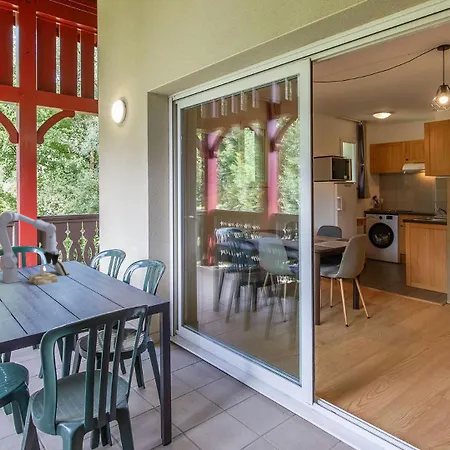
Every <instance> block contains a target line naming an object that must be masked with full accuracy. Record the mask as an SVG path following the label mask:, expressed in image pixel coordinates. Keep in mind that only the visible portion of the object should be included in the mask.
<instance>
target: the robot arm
mask: <svg viewBox="0 0 450 450" xmlns="http://www.w3.org/2000/svg"><path fill="white" fill-rule="evenodd" d="M13 221H21V222H24V223H26V224H30V225H32V227H33V228H34V229H36V230H40V231H42V232H45V233H46V237H45V242H46V243H45V244H46V245H45V247H46V248H44V252H43V255H44V258H45V260H46V264H51V263H52V266H54V265H56V264H57V261H59V257H60V255H61V254H60V253H59V249H57V235H56V231H57V228H56V226H55V224H52V223H50V222H45V221H44V220H42V219H41V218H40V219H33V218H31V217H28V216H26V215H23V214H21V213H18V212H15V211H12V210H7V211H4V212H2V213H1V214H0V245H1V249H2V253H3V266H4V268H3V269H2V279H1V282H3V283H5V284H12V283H18V282H21V281H22V280H20V279H19V273H18V272H19V271H18V266H19V265H17V264H18V261H19V260H18V258H17V256H16V255H15V253H14V250H13V248H12V243H11V241H10V236H9V233H8V229H7V226H9V224H10V223H11V222H13Z"/></svg>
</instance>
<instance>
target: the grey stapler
mask: <svg viewBox="0 0 450 450" xmlns="http://www.w3.org/2000/svg"><path fill="white" fill-rule="evenodd" d="M53 266H54V269H55V271H56V273H58V274H59V275H61V276H62V277H64V276H66V275H69V276H71V272H69V271H68V269H67V268H66V266H65V264H64V263H63V261H61V260H57V264H56V265H53Z"/></svg>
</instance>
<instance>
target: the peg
mask: <svg viewBox="0 0 450 450" xmlns="http://www.w3.org/2000/svg"><path fill="white" fill-rule="evenodd" d="M46 271H47V268H46V265H40V270H39V274H40V275H41V277H42V276H46V273H47V272H46Z"/></svg>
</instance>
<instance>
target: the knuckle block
mask: <svg viewBox="0 0 450 450" xmlns="http://www.w3.org/2000/svg"><path fill="white" fill-rule="evenodd" d="M28 281H29V283H31V284H34V285H37V286H40V285H46V284H52V283H57V282H58V275H56V274H53V273H51V272H46V276H42V277H41V275H40V273H38V274H31V275H29V276H28Z"/></svg>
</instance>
